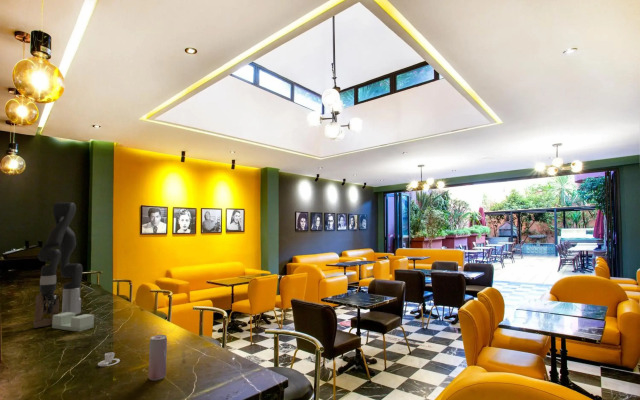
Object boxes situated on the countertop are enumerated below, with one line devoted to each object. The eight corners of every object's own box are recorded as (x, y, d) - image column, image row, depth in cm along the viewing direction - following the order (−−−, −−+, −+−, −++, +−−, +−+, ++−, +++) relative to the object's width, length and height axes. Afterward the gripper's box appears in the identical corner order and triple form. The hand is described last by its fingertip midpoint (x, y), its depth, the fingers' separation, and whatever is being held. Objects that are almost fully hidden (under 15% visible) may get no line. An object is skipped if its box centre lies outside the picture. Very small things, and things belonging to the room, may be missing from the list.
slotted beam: (66, 324, 198) (67, 311, 198) (93, 327, 191) (94, 314, 191) (52, 327, 190) (52, 315, 191) (79, 331, 183) (80, 318, 184)
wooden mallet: (58, 323, 196) (59, 293, 198) (34, 328, 188) (36, 296, 190) (56, 322, 199) (58, 292, 200) (33, 327, 191) (35, 295, 192)
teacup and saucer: (101, 369, 135) (101, 359, 135) (91, 365, 139) (92, 355, 140) (123, 362, 142) (123, 352, 143) (114, 358, 147) (114, 348, 147)
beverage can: (152, 374, 129) (153, 334, 131) (168, 373, 130) (169, 334, 131) (145, 381, 124) (147, 340, 125) (162, 380, 124) (163, 339, 125)
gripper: (63, 282, 197) (61, 312, 195) (46, 281, 201) (45, 310, 200) (49, 284, 189) (47, 315, 188) (32, 283, 194) (31, 313, 193)
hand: (46, 312), depth 194 cm, fingers closed on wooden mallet, 4 cm apart
